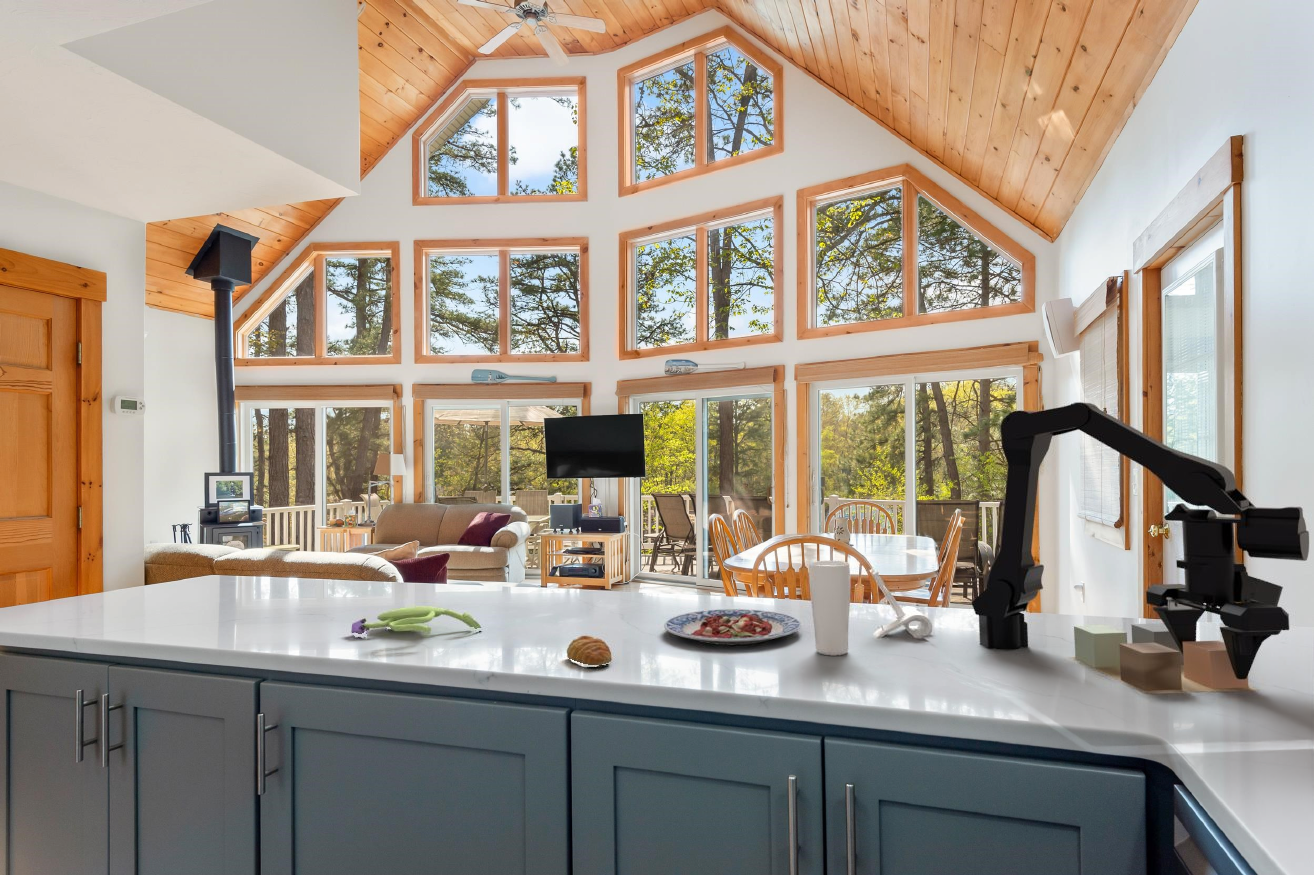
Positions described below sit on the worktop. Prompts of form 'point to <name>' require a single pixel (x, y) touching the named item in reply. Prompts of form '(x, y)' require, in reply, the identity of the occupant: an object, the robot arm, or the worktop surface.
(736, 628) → the ceramic plate
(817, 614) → the drinking glass
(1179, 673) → the walnut block
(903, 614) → the plastic part
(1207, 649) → the terracotta block
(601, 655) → the pastry
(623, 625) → the worktop surface
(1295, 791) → the worktop surface
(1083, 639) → the sage block
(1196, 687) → the oak board
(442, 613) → the figurine
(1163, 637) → the grey block
